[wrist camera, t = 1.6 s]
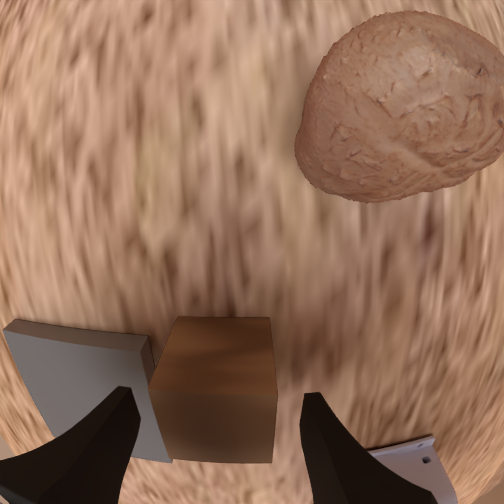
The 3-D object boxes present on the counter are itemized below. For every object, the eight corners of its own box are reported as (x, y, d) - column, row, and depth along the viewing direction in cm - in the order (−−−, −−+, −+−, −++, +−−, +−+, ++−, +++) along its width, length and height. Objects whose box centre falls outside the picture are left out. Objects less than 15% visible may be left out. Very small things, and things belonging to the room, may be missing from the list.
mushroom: (444, 104, 11) (568, 89, 4) (419, 219, 13) (539, 279, 6) (300, 46, 11) (355, -62, 3) (269, 175, 13) (299, 201, 5)
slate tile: (148, 335, 15) (139, 351, 14) (175, 447, 18) (172, 463, 16) (14, 319, 15) (2, 329, 13) (60, 424, 18) (53, 436, 16)
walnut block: (269, 316, 15) (278, 394, 9) (266, 385, 16) (271, 463, 11) (178, 315, 15) (147, 388, 9) (187, 382, 16) (169, 458, 11)
